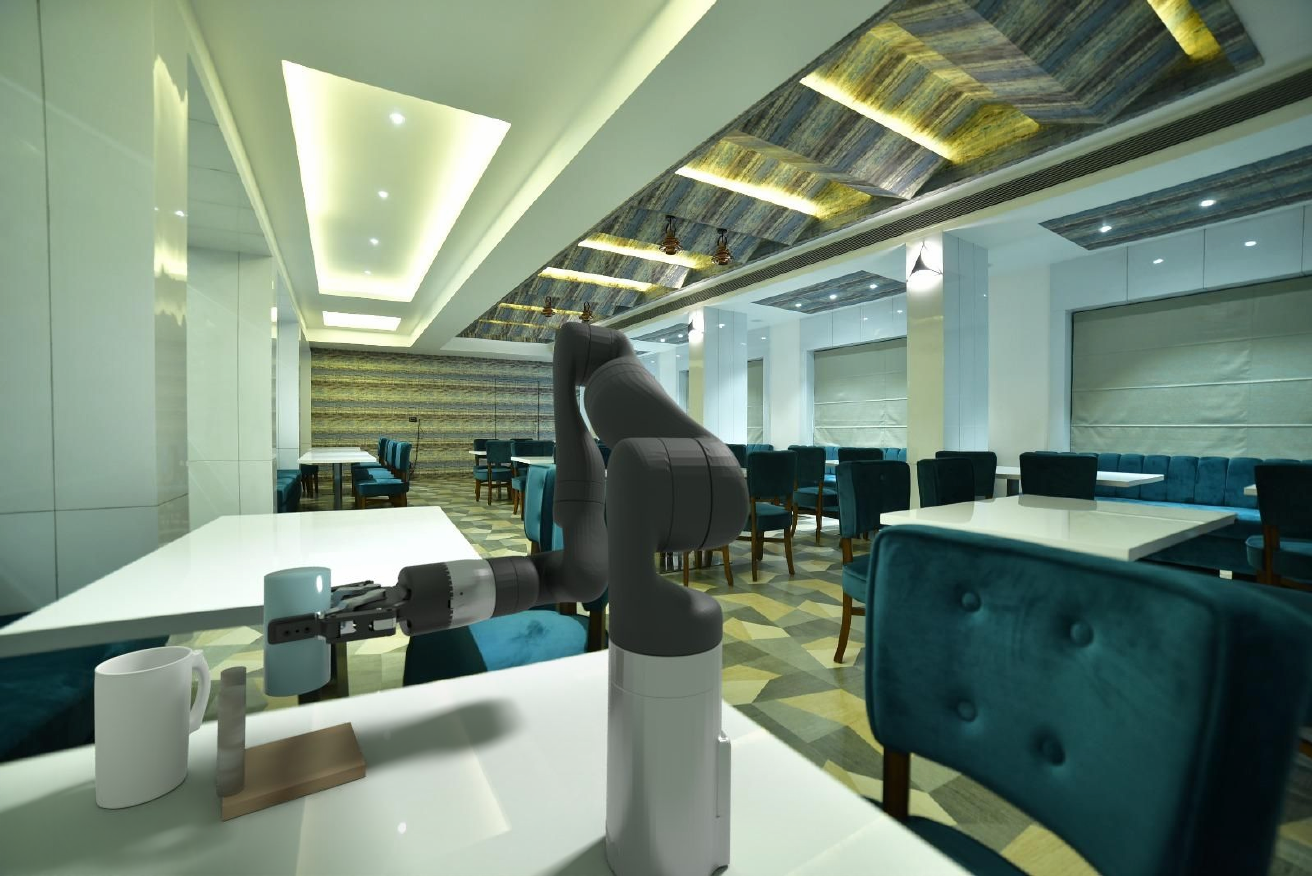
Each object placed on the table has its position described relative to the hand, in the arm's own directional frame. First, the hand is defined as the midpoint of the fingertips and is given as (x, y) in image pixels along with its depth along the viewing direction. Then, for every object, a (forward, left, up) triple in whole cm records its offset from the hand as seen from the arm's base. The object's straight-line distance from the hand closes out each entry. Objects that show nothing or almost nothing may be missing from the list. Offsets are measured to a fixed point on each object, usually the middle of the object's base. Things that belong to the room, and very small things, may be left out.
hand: (267, 623), depth 54 cm
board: (-2, -1, -15) cm, 15 cm away
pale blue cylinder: (-2, -1, -6) cm, 7 cm away
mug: (+10, -3, -15) cm, 18 cm away
